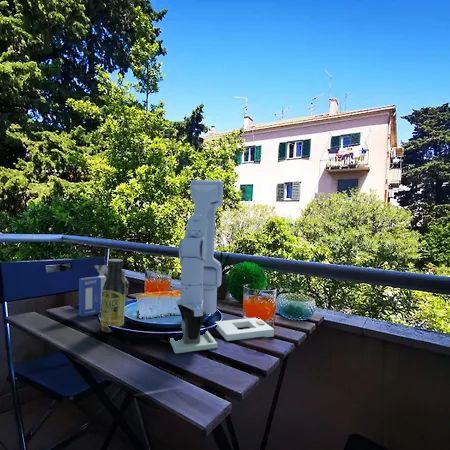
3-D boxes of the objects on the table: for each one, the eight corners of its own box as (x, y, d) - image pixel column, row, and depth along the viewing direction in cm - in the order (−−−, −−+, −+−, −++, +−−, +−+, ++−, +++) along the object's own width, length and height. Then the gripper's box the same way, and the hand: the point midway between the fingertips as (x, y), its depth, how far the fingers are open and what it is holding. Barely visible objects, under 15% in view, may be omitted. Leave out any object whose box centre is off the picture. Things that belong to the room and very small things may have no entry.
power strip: (214, 328, 92) (214, 320, 92) (257, 323, 97) (258, 316, 96) (226, 342, 82) (227, 333, 82) (273, 336, 87) (274, 328, 87)
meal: (89, 301, 114) (89, 265, 113) (98, 298, 118) (99, 264, 117) (120, 308, 107) (121, 270, 107) (129, 305, 111) (130, 268, 111)
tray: (166, 334, 86) (166, 329, 86) (203, 330, 90) (203, 325, 90) (175, 354, 74) (175, 348, 74) (217, 349, 78) (217, 343, 78)
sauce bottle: (95, 332, 86) (96, 260, 85) (109, 324, 92) (110, 257, 91) (116, 335, 85) (117, 262, 84) (129, 327, 91) (130, 258, 90)
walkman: (82, 317, 98) (82, 278, 97) (78, 314, 100) (79, 277, 99) (106, 311, 103) (107, 275, 103) (103, 309, 105) (103, 274, 105)
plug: (181, 337, 83) (181, 319, 83) (195, 336, 85) (196, 318, 84) (184, 344, 79) (185, 324, 79) (200, 342, 81) (200, 323, 81)
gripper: (171, 278, 87) (170, 326, 87) (182, 291, 73) (181, 348, 74) (196, 276, 89) (194, 323, 90) (211, 289, 76) (210, 344, 76)
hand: (190, 334), depth 82 cm, fingers open, 5 cm apart
